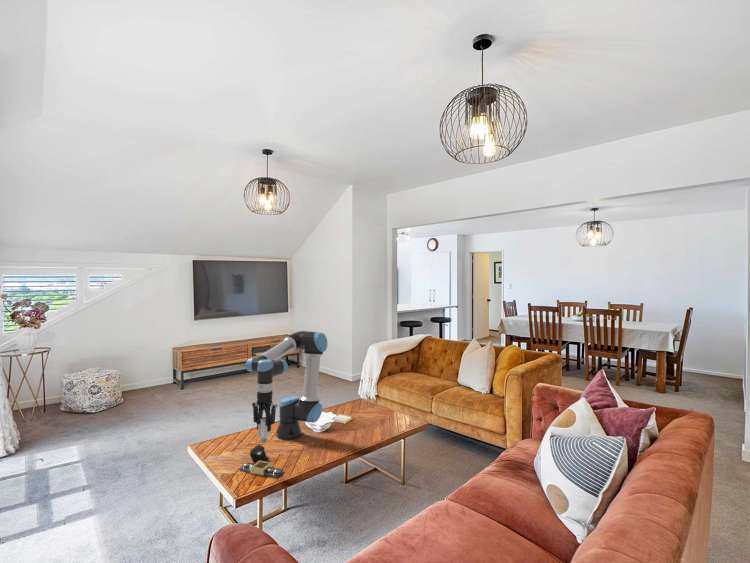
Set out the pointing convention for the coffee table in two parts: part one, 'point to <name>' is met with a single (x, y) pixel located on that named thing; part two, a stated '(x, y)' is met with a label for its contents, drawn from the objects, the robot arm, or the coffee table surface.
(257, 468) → the chain ends
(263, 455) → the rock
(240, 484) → the coffee table surface
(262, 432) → the pin
